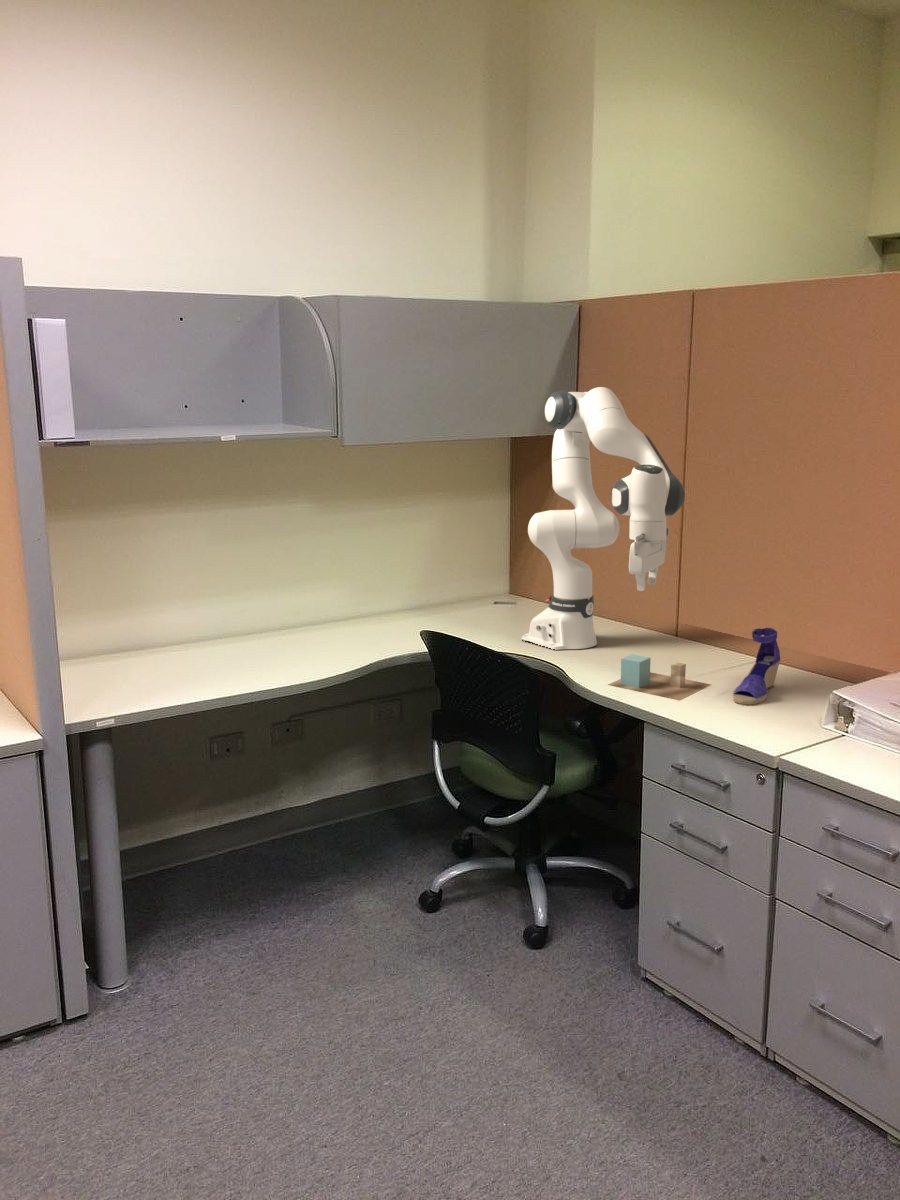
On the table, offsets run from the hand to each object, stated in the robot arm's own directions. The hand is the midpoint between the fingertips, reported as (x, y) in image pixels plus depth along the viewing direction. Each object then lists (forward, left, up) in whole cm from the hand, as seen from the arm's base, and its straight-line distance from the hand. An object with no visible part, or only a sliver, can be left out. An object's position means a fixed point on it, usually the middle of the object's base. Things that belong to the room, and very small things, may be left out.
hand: (646, 587), depth 248 cm
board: (+5, -2, -24) cm, 25 cm away
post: (+9, 0, -24) cm, 26 cm away
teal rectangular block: (0, -5, -24) cm, 24 cm away
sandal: (+26, +8, -25) cm, 37 cm away
